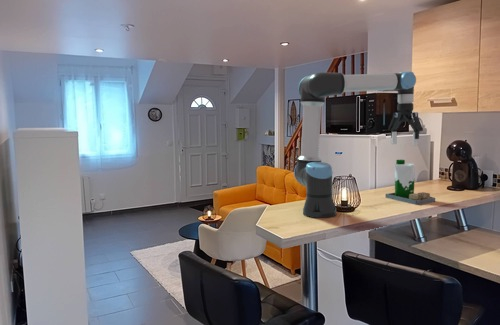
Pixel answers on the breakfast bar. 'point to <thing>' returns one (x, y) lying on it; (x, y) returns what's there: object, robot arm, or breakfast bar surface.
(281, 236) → the breakfast bar surface
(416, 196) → the oak block
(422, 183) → the breakfast bar surface
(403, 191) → the soya milk
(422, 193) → the oak block
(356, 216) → the breakfast bar surface
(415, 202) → the tray
